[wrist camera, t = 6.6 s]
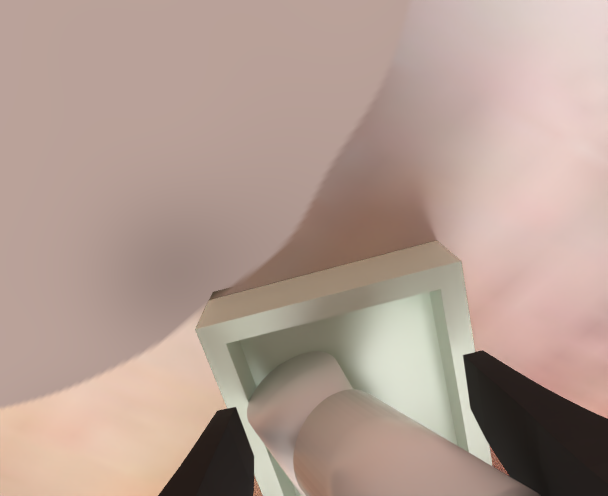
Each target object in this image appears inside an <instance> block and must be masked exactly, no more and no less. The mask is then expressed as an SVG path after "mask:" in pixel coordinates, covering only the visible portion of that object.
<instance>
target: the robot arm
mask: <svg viewBox="0 0 608 496" xmlns="http://www.w3.org/2000/svg"><path fill="white" fill-rule="evenodd" d="M463 360H464V367H465V374H466V381H467V388H468V395H469V402H470V409H471V411H472V413H473V415H474V417H475V419H476V421H477V423H478V425H479V427H480V429H481V431H482V433H483V435H484V436H485V438H486V440H487V442H488V443H489V445H490V447H491V448H492V450H493V451H494V453H495V454H496V456H497V457H498V459H499V460H500V462H501V463H502V465H503V466H504V468H505V469H506V471H507V472H508V474H509V476H510V477H511V478H513V479H515V480H516V481H518V482H520V483H522V484H523V485H525V486H527V487H528V488H530V489H532V490H533V491H535V492H537V493H538V494H539V495H540V496H608V419H607V418H604V417H602V416H600V415H597V414H595V413H593V412H591V411H589V410H587V409H585V408H583V407H581V406H579V405H577V404H575V403H573V402H571V401H569V400H567V399H565V398H563V397H561V396H559V395H557V394H555V393H553V392H552V391H550V390H548V389H546V388H544V387H542V386H541V385H539V384H537V383H535V382H534V381H532V380H530V379H529V378H527V377H525V376H523V375H522V374H520V373H519V372H517V371H515V370H514V369H512V368H510V367H509V366H507V365H505V364H504V363H502V362H501V361H499V360H497V359H496V358H494V357H493V356H491V355H489V354H488V353H486V352H484V351H478V352H474V353H469V354H465V355H463ZM253 492H254V454H253V451H252V449H251V446H250V443H249V441H248V438H247V435H246V433H245V430H244V427H243V425H242V422H241V419H240V417H239V414H238V411H237V408H236V407H232V408H228V409H224V410H219V411H217V412H216V414H215V415H214V417H213V418H212V420H211V421H210V423H209V424H208V426H207V427H206V429H205V430H204V432H203V433H202V435H201V436H200V438H199V439H198V441H197V442H196V444H195V445H194V447H193V448H192V450H191V451H190V453H189V454H188V456H187V457H186V458H185V460H184V461H183V463H182V464H181V466H180V467H179V469H178V470H177V471H176V473H175V474H174V475H173V477H172V478H171V479H170V481H169V482H168V483H167V485H166V486H165V487H164V489H163V490H162V491H161V493H160V494H159V495H158V496H253Z"/></svg>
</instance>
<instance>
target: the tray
mask: <svg viewBox="0 0 608 496" xmlns="http://www.w3.org/2000/svg"><path fill="white" fill-rule="evenodd" d="M227 289H228V288H226V289H222V290H218V291H214V292H213V293H212V295H211V297H210V299H209V301H208V303H207V305H206V307H205V310H204V312H203V314H202V316H201V318H200V320H199V322H198V324H197V327H196V329H195V330H196V333H197V335H198V338H199V340H200V342H201V345H202V347H203V350H204V352H205V355H206V357H207V360H208V362H209V365H210V367H211V370H212V372H213V374H214V377H215V379H216V382H217V384H218V387H219V389H220V392H221V394H222V397H223V399H224V401H225V404H226V406H227V409H228V408H232V407H236V408H237V411H238V414H239V417H240V419H241V422H242V425H243V427H244V430H245V433H246V435H247V438H248V441H249V443H250V446H251V449H252V451H253V454H254V475H255V478H256V480H257V483H258V485H259V488H260V490H261V493H262V495H263V496H301V494H300V493H299V491H298V490H297V489H296V487H295V486H294V484H293V483H292V482H291V480H290V479H289V478H288V476H287V475H286V473H285V472H284V471H283V469H282V468H281V466H280V465H279V464H278V462H277V461H276V460H275V458H274V457H273V455H272V454H271V453H270V451H269V450H268V449H267V447H266V446H265V444H264V443H263V442H262V440H261V439H260V437H259V436H258V435H257V433H256V432H255V431H254V429H253V428H252V426H251V425H250V423H249V422H248V419H247V407H248V403H249V400H250V398H251V396H252V394H253V392H254V391H255V389H256V388H257V386H258V385H259V384H260V383H261V381H262V380H263V379H264V378H265V377H266V376H267V375H268V374H269V373H270V372H271V371H273V370H274V369H275V368H276V367H278V366H279V365H280V364H282V363H284V362H285V361H287V360H289V359H291V358H293V357H295V356H297V355H300V354H303V353H307V352H313V351H321V352H326V353H329V354H330V355H332V356H333V357H334V358H335V359H336V361H337V362H338V364H339V366H340V367H341V369H342V371H343V372H344V374H345V376H346V378H347V379H348V381H349V383H350V384H351V386H352V388H353V389H357V390H362V391H365V392H367V393H369V394H371V395H372V396H374V397H376V398H378V399H379V400H381V401H383V402H384V403H386V404H388V405H389V406H391V407H393V408H394V409H396V410H398V411H400V412H401V413H403V414H405V415H406V416H408V417H410V418H411V419H413V420H415V421H416V422H418V423H420V424H422V425H423V426H425V427H427V428H428V429H430V430H432V431H433V432H435V433H437V434H439V435H440V436H442V437H444V438H445V439H447V440H449V441H450V442H452V443H454V444H455V445H457V446H459V447H461V448H462V449H464V450H466V451H467V452H469V453H471V454H472V455H474V456H476V457H477V458H479V459H481V460H483V461H484V462H486V463H488V464H489V465H491V466H492V459H491V453H490V446H489V443H488V442H487V440H486V438H485V436H484V435H483V433H482V431H481V429H480V427H479V425H478V423H477V421H476V419H475V417H474V415H473V413H472V411H471V409H470V402H469V395H468V388H467V381H466V374H465V367H464V360H463V355H465V354H469V353H474V352H475V348H474V341H473V334H472V328H471V321H470V315H469V308H468V302H467V295H466V288H465V282H464V275H463V269H462V262H461V260H460V259H458V258H457V257H456V256H455V255H454V254H452V253H451V252H450V251H449V250H448V249H446V248H445V247H444V246H443V245H442V244H440V243H439V242H438V241H433V242H429V243H425V244H421V245H417V246H414V247H410V248H406V249H402V250H398V251H395V252H391V253H387V254H383V255H379V256H375V257H372V258H368V259H364V260H360V261H356V262H353V263H349V264H345V265H341V266H337V267H333V268H330V269H326V270H322V271H318V272H314V273H311V274H307V275H303V276H299V277H295V278H291V279H288V280H284V281H280V282H276V283H272V284H268V285H265V286H261V287H257V288H253V289H249V290H246V291H242V292H238V293H234V294H230V295H226V296H223V297H219V298H215V297H216V296H218V295H219V294H221V293H223V292H224V291H226V290H227ZM214 298H215V299H214Z"/></svg>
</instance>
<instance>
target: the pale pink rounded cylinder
mask: <svg viewBox="0 0 608 496" xmlns="http://www.w3.org/2000/svg"><path fill="white" fill-rule="evenodd" d="M349 389H353V388H352V386H351V384H350V383H349V381H348V379H347V378H346V376H345V374H344V372H343V371H342V369H341V367H340V366H339V364H338V362H337V361H336V359H335V358H334V357H333V356H332V355H330V354H329V353H326V352H321V351H313V352H307V353H303V354H300V355H297V356H295V357H293V358H291V359H289V360H287V361H285V362H284V363H282V364H280V365H279V366H278V367H276V368H275V369H274V370H273V371H271V372H270V373H269V374H268V375H267V376H266V377H265V378H264V379H263V380H262V381H261V383H260V384H259V385H258V386H257V388H256V389H255V391H254V392H253V394H252V396H251V398H250V400H249V403H248V407H247V419H248V422H249V423H250V425H251V426H252V428H253V429H254V431H255V432H256V433H257V435H258V436H259V437H260V439H261V440H262V442H263V443H264V444H265V446H266V447H267V449H268V450H269V451H270V453H271V454H272V455H273V457H274V458H275V460H276V461H277V462H278V464H279V465H280V466H281V468H282V469H283V471H284V472H285V473H286V475H287V476H288V478H289V479H290V480H291V482H292V483H293V484H294V486H295V487H296V489H297V490H298V491H299V493H300V494H301V496H306V495H305V494H304V492H303V491H302V490H301V488H300V487H299V485H298V483H297V480H296V477H295V473H294V467H293V455H294V448H295V443H296V440H297V437H298V434H299V432H300V429H301V427H302V425H303V424H304V422H305V420H306V419H307V417H308V416H309V414H310V413H311V412H312V411H313V409H314V408H315V407H316V406H317V405H318V404H319V403H321V402H322V401H323V400H324V399H326V398H327V397H329V396H331V395H333V394H335V393H337V392H340V391H343V390H349Z"/></svg>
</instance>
